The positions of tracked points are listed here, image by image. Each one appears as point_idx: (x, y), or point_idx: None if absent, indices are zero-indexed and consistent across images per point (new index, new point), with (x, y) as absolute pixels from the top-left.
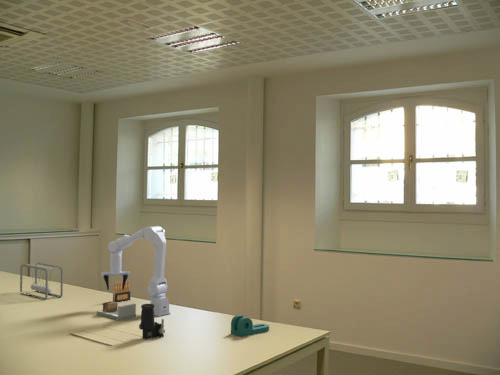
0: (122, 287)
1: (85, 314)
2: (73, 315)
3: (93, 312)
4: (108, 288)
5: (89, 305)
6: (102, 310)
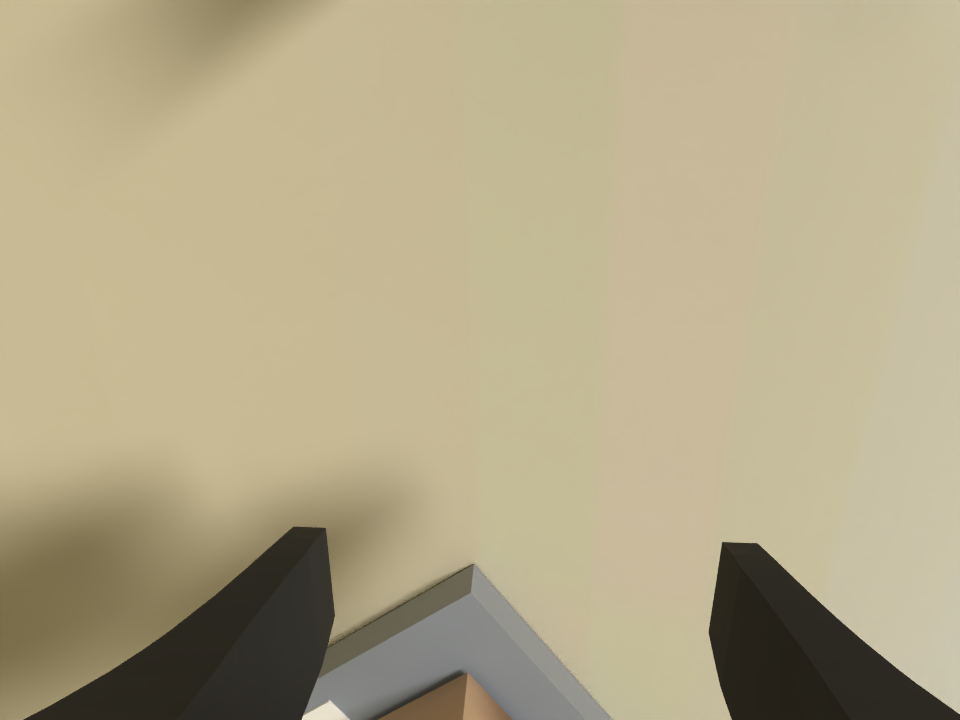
0: (725, 669)
1: None
2: (23, 664)
3: (229, 573)
4: (317, 656)
5: (32, 52)
6: (347, 680)
